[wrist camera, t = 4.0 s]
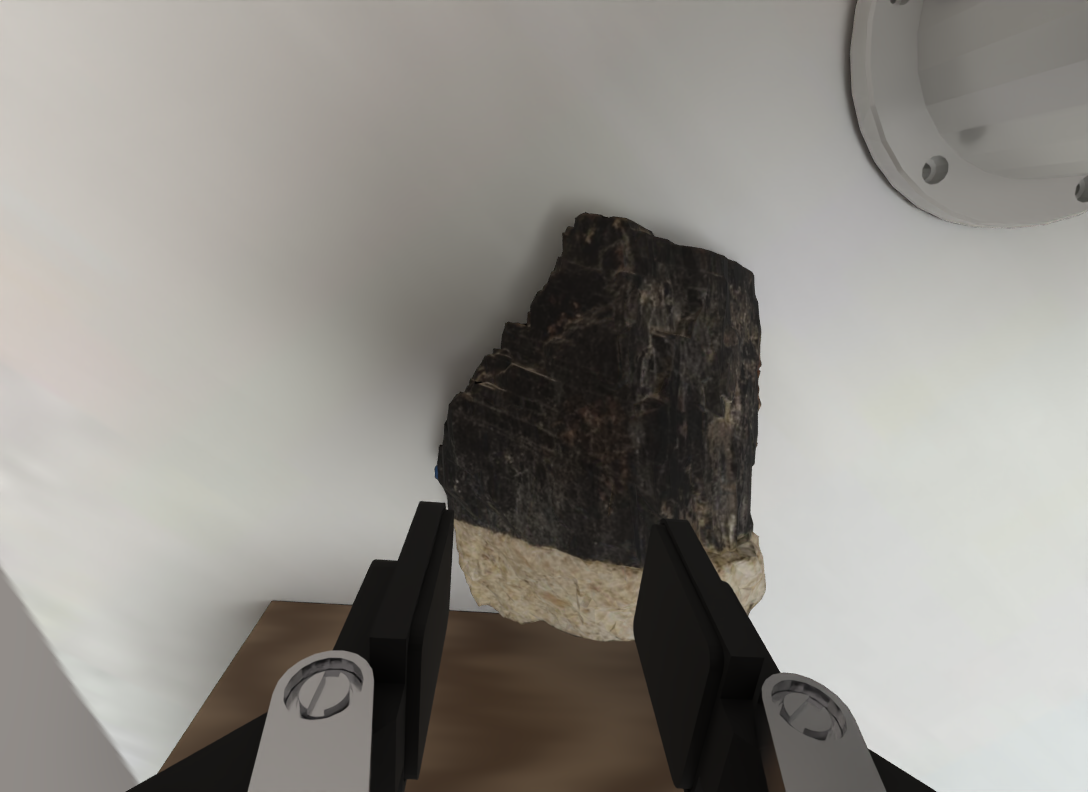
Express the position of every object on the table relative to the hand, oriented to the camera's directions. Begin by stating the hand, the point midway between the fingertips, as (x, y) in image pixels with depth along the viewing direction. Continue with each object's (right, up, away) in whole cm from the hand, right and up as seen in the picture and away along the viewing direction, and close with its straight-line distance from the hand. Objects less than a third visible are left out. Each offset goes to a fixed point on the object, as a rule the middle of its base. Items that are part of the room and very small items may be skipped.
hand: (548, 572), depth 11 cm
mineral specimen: (+2, +3, +10) cm, 11 cm away
